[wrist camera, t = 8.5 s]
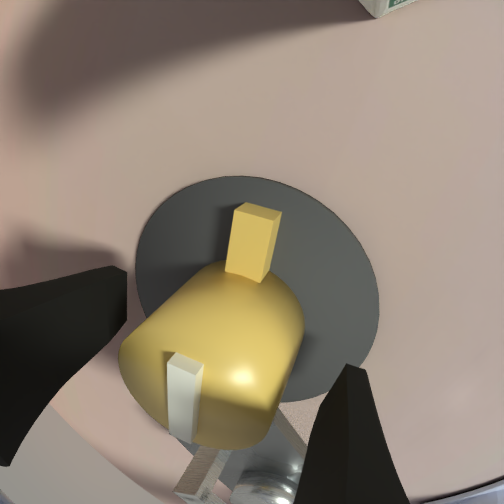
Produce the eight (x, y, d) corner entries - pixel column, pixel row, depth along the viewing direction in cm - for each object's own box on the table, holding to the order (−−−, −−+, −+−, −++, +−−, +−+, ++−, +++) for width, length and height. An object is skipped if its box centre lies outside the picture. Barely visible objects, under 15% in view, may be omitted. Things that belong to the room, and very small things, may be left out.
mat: (411, 367, 10) (411, 372, 10) (217, 408, 14) (215, 412, 14) (296, 120, 8) (294, 120, 8) (105, 245, 12) (101, 248, 12)
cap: (276, 408, 12) (239, 494, 8) (181, 371, 13) (126, 442, 9) (338, 228, 9) (313, 314, 5) (196, 189, 10) (94, 236, 6)
